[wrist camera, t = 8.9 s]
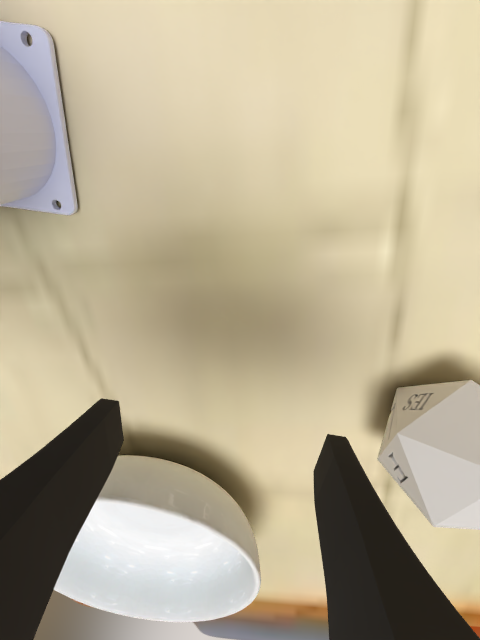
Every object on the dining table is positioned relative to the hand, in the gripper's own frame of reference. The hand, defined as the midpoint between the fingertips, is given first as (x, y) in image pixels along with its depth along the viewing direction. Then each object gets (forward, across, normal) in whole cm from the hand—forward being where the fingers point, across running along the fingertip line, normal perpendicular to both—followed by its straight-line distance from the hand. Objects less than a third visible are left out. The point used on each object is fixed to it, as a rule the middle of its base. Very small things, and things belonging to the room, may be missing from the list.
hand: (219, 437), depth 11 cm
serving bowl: (+11, +6, +23) cm, 26 cm away
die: (+11, -14, +6) cm, 19 cm away
